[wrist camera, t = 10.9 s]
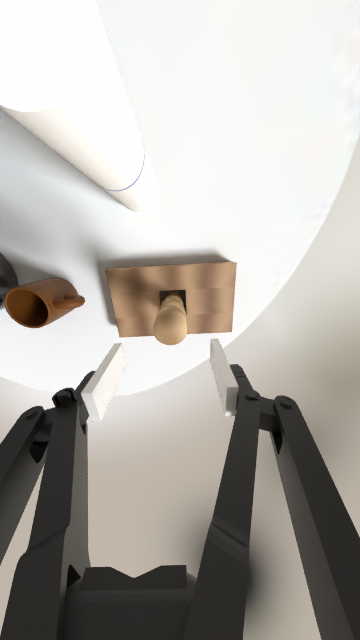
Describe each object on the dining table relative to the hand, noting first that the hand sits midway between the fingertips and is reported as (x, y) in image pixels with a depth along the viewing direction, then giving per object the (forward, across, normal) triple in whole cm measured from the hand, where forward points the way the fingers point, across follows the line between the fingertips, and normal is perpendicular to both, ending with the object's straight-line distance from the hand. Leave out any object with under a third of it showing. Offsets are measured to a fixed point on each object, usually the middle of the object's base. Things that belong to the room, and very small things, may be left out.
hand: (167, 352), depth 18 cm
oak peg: (+21, 0, 0) cm, 21 cm away
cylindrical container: (+22, -5, +20) cm, 30 cm away
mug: (+22, -22, +2) cm, 31 cm away
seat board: (+21, 0, 0) cm, 21 cm away
